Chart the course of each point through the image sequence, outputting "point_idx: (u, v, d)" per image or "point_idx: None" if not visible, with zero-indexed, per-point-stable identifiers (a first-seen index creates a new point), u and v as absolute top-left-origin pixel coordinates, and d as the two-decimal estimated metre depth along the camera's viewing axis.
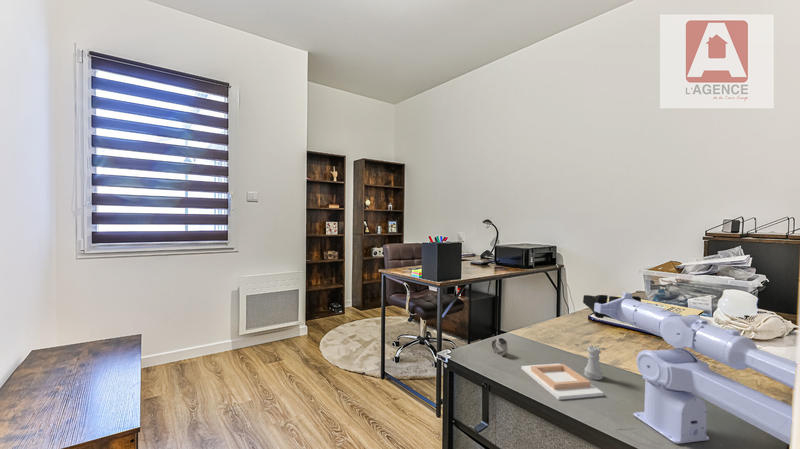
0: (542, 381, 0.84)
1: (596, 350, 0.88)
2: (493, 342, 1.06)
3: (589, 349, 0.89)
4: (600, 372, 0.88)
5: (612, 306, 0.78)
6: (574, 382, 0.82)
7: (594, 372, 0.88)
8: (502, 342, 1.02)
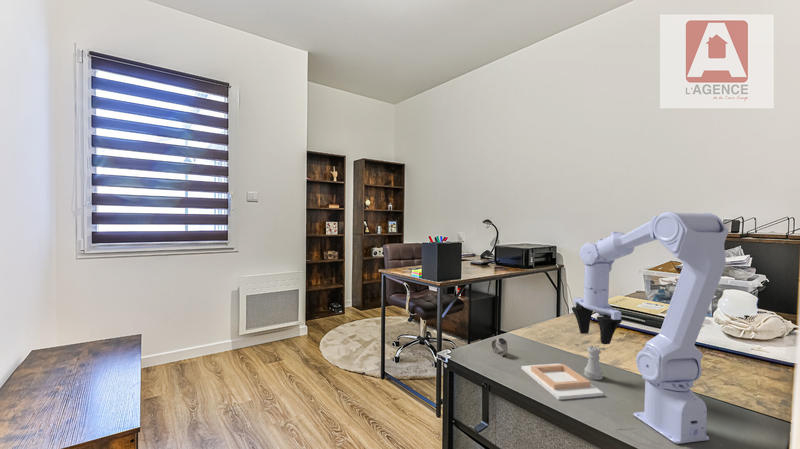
0: (542, 381, 0.84)
1: (596, 350, 0.88)
2: (493, 342, 1.06)
3: (589, 349, 0.89)
4: (600, 372, 0.88)
5: None
6: (574, 382, 0.82)
7: (594, 372, 0.88)
8: (502, 342, 1.02)
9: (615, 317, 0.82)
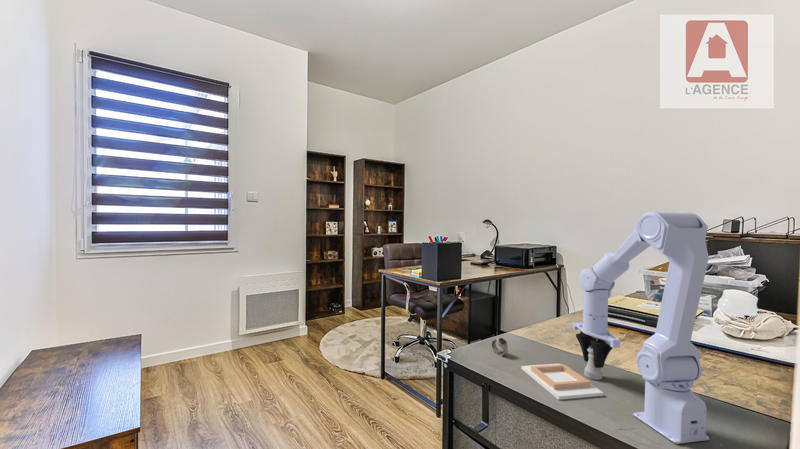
0: (542, 381, 0.84)
1: None
2: (493, 342, 1.06)
3: (589, 349, 0.89)
4: (600, 372, 0.88)
5: None
6: (574, 382, 0.82)
7: (594, 372, 0.88)
8: (502, 342, 1.02)
9: (614, 345, 0.82)
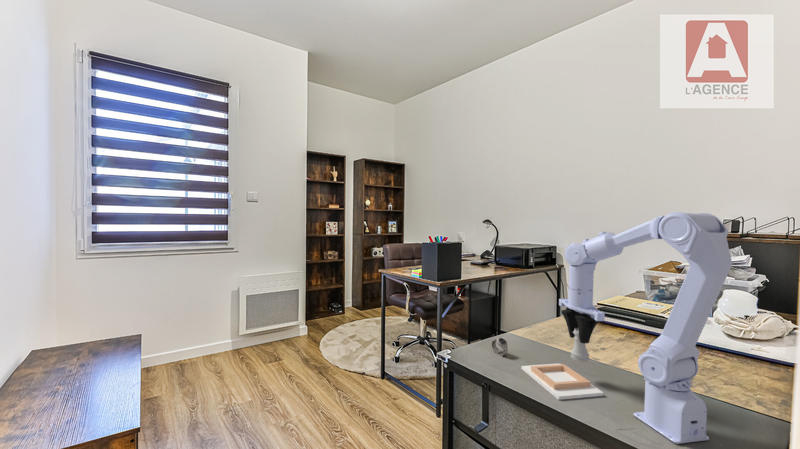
0: (542, 381, 0.84)
1: None
2: (493, 342, 1.06)
3: (575, 331, 0.88)
4: (586, 354, 0.87)
5: None
6: (574, 382, 0.82)
7: (581, 354, 0.86)
8: (502, 342, 1.02)
9: (598, 318, 0.81)
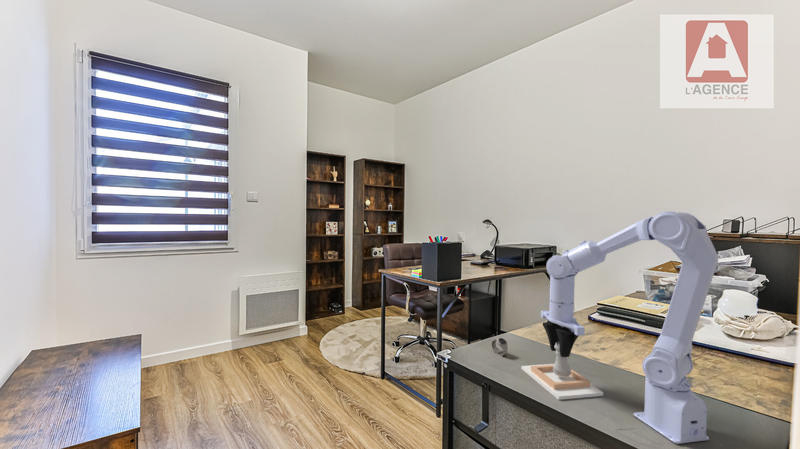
0: (542, 381, 0.84)
1: None
2: (493, 342, 1.06)
3: (556, 346, 0.86)
4: (568, 368, 0.85)
5: None
6: (574, 382, 0.82)
7: (562, 369, 0.85)
8: (502, 342, 1.02)
9: (578, 333, 0.79)
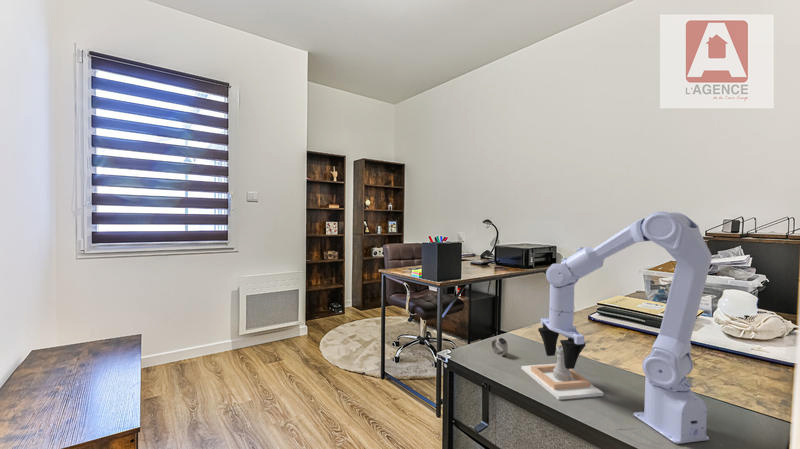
0: (542, 381, 0.84)
1: None
2: (493, 342, 1.06)
3: (558, 349, 0.87)
4: (568, 373, 0.85)
5: None
6: (574, 382, 0.82)
7: (563, 373, 0.85)
8: (502, 342, 1.02)
9: (578, 342, 0.79)
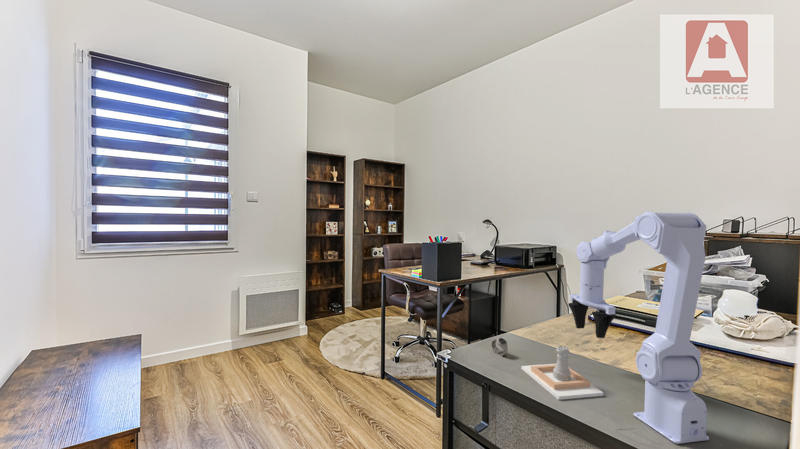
0: (542, 381, 0.84)
1: (564, 350, 0.85)
2: (493, 342, 1.06)
3: (558, 349, 0.87)
4: (568, 373, 0.85)
5: None
6: (574, 382, 0.82)
7: (563, 373, 0.85)
8: (502, 342, 1.02)
9: (609, 312, 0.86)
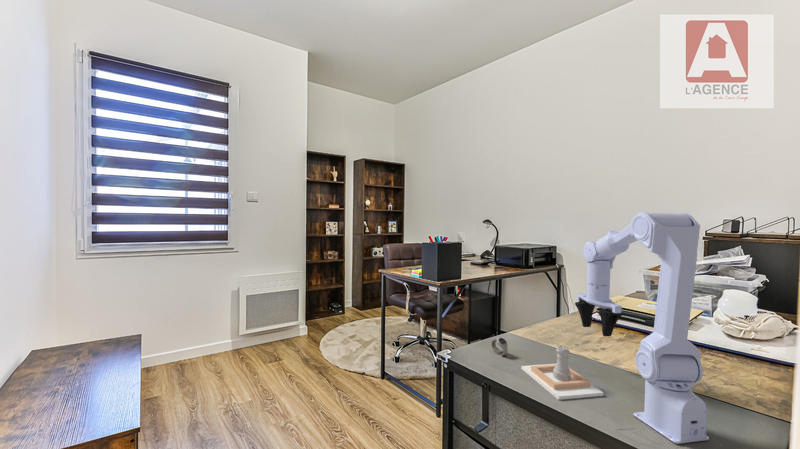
0: (542, 381, 0.84)
1: (564, 350, 0.85)
2: (493, 342, 1.06)
3: (558, 349, 0.87)
4: (568, 373, 0.85)
5: None
6: (574, 382, 0.82)
7: (563, 373, 0.85)
8: (502, 342, 1.02)
9: (616, 311, 0.88)
